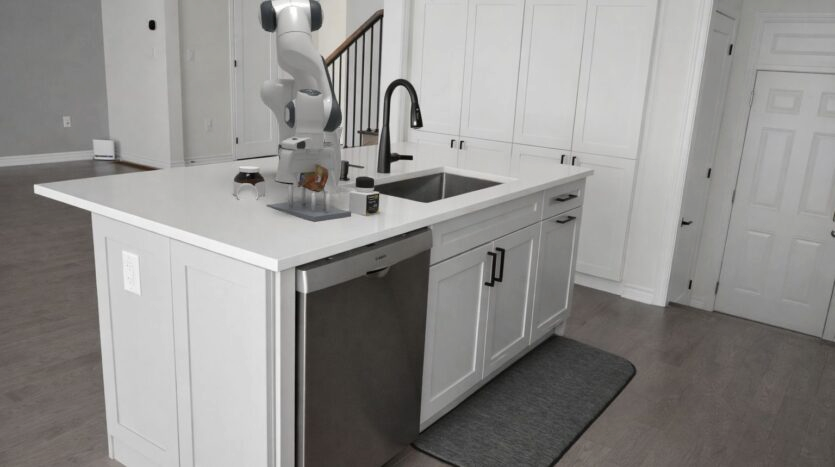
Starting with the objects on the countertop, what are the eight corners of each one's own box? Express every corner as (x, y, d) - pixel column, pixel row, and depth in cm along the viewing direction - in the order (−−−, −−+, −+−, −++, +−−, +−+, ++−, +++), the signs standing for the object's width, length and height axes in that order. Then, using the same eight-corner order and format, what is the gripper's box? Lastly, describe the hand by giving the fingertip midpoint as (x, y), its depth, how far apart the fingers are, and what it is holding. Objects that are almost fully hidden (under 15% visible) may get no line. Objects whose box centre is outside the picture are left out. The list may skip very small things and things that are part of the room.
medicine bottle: (366, 216, 201) (367, 179, 199) (348, 213, 205) (349, 176, 202) (379, 213, 207) (380, 177, 205) (361, 210, 211) (362, 174, 208)
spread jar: (256, 198, 223) (256, 165, 221) (273, 203, 215) (273, 169, 213) (225, 200, 215) (224, 166, 212) (242, 206, 207) (241, 170, 204)
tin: (296, 183, 205) (304, 159, 204) (304, 186, 207) (312, 161, 206) (315, 193, 193) (323, 166, 192) (324, 195, 195) (332, 169, 194)
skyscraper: (318, 195, 235) (319, 119, 230) (337, 195, 238) (339, 120, 232) (323, 199, 228) (325, 121, 222) (343, 198, 231) (345, 121, 225)
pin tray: (302, 204, 215) (303, 183, 213) (351, 216, 199) (351, 193, 198) (266, 209, 203) (266, 186, 202) (314, 221, 188) (314, 197, 187)
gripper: (328, 141, 206) (327, 182, 209) (277, 142, 191) (276, 187, 194) (341, 142, 202) (339, 185, 205) (289, 144, 187) (289, 189, 190)
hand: (308, 186), depth 200 cm, fingers open, 8 cm apart
